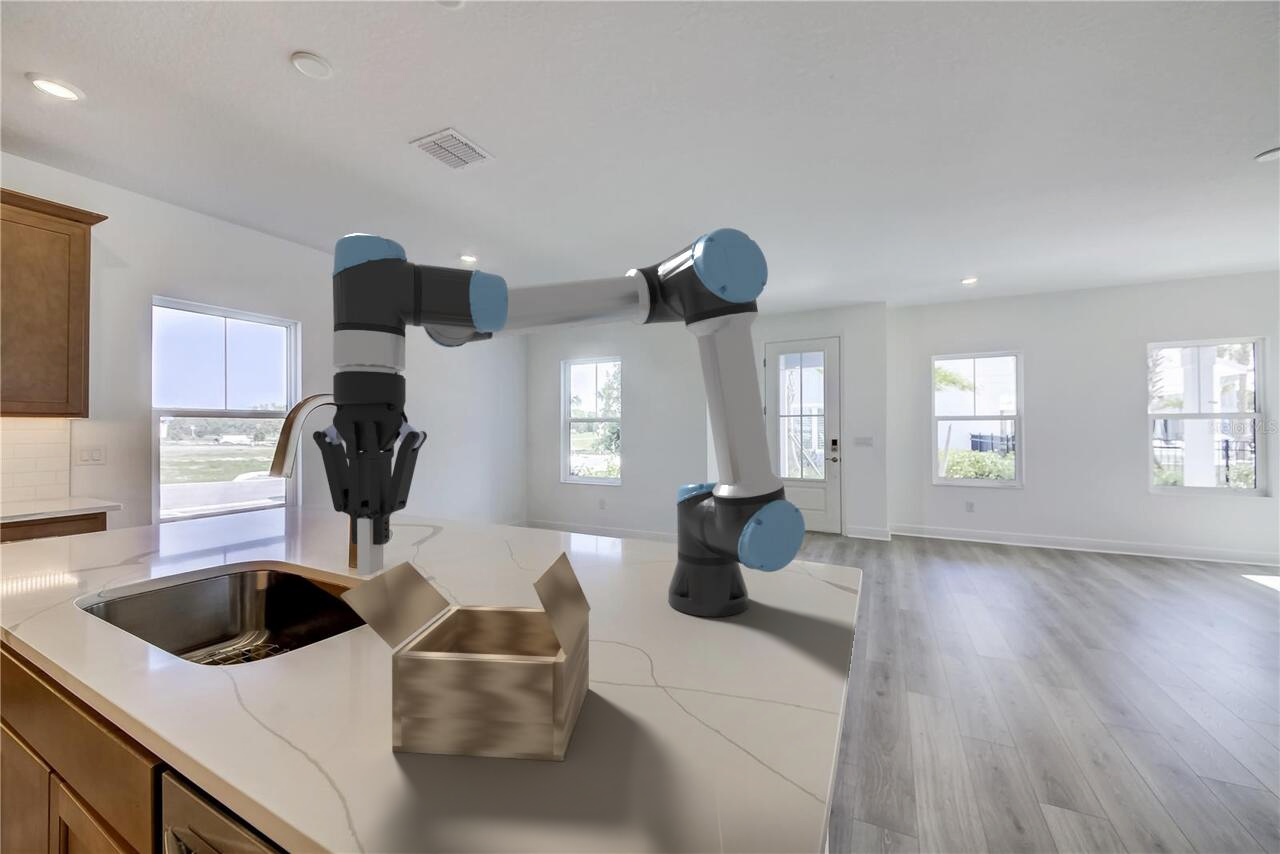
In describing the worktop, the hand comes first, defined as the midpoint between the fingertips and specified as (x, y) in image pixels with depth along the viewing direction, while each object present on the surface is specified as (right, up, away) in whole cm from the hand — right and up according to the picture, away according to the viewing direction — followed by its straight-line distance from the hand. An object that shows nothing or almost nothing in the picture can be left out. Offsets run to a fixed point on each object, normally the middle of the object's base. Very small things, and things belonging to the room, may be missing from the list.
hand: (370, 571), depth 59 cm
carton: (+16, -17, -1) cm, 23 cm away
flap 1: (+4, -3, 0) cm, 5 cm away
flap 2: (+23, -3, -2) cm, 23 cm away
